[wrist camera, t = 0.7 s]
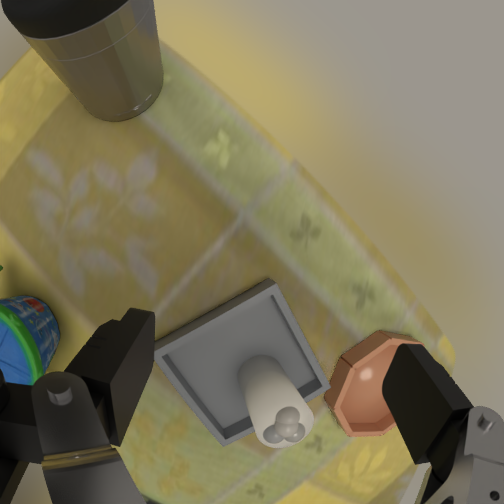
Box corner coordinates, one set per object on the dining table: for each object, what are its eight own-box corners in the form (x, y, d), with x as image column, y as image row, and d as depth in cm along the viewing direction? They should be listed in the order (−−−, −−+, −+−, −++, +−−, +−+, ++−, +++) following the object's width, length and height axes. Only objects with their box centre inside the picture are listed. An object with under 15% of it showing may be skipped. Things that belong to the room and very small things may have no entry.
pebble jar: (229, 369, 33) (248, 431, 21) (269, 346, 33) (305, 400, 22) (251, 401, 33) (276, 465, 22) (289, 380, 34) (328, 437, 23)
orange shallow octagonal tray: (311, 374, 35) (320, 386, 32) (402, 312, 37) (416, 318, 34) (347, 440, 38) (356, 452, 35) (424, 384, 39) (436, 393, 36)
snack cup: (93, 384, 31) (67, 435, 21) (24, 389, 29) (-12, 431, 19) (54, 249, 29) (5, 261, 19) (-15, 267, 27) (-68, 281, 17)
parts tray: (153, 342, 32) (150, 353, 29) (268, 277, 33) (276, 283, 30) (220, 432, 34) (222, 446, 31) (321, 376, 36) (331, 387, 33)
